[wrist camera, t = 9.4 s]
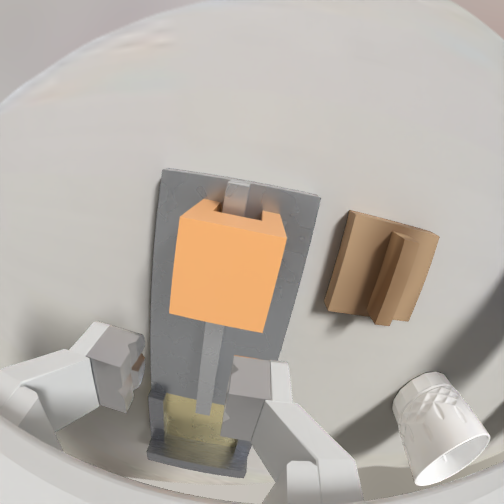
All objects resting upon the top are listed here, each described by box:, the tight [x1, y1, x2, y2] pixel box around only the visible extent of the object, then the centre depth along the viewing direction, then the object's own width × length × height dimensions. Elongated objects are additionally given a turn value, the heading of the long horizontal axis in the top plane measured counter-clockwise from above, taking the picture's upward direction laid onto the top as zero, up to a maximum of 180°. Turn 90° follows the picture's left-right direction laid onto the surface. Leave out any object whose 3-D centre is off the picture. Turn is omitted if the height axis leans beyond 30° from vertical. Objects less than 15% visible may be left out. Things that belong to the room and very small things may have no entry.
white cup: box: [392, 371, 490, 486], centre depth 20 cm, size 8×8×10 cm
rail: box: [147, 168, 321, 478], centre depth 21 cm, size 10×28×4 cm, turn 169°
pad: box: [324, 210, 439, 326], centre depth 19 cm, size 7×7×4 cm
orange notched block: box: [169, 199, 287, 333], centre depth 16 cm, size 5×5×6 cm
